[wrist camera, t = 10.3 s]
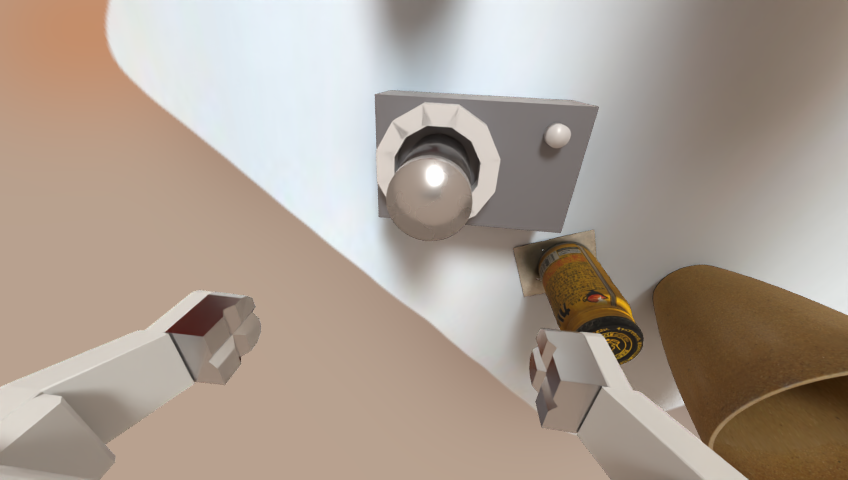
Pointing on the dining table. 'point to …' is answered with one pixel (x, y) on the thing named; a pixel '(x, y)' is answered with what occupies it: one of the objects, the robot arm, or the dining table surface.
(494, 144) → the camera body
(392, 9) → the dining table surface
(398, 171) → the lens
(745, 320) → the plant pot
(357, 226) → the dining table surface
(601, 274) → the condiment
